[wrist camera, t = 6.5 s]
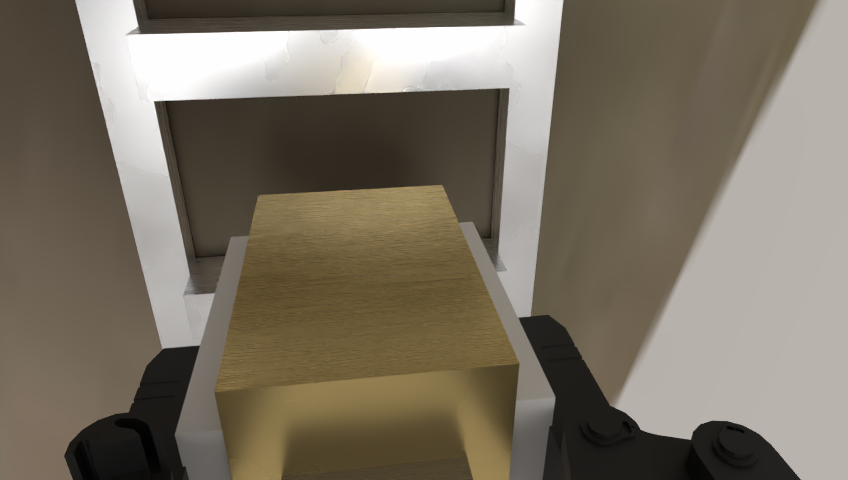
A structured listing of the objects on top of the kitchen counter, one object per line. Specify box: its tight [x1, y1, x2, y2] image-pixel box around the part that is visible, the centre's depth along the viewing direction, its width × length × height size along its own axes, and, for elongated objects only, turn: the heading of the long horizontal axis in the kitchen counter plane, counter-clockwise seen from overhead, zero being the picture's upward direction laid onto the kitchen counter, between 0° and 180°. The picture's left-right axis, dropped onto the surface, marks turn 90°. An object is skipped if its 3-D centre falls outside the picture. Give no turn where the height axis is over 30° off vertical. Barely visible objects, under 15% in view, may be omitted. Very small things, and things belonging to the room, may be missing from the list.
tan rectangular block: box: [214, 185, 520, 480], centre depth 13 cm, size 4×4×8 cm
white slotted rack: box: [75, 0, 563, 349], centre depth 21 cm, size 22×14×2 cm, turn 0°
